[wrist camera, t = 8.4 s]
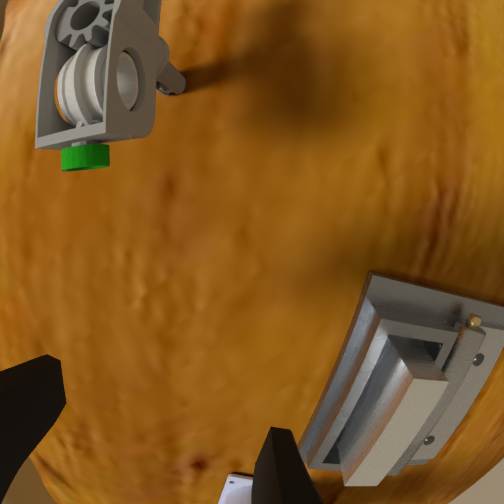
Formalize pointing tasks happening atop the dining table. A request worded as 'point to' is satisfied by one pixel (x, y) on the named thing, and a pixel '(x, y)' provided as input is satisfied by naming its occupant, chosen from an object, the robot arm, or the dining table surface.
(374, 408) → the brushed steel bar
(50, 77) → the mechanical component
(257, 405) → the dining table surface
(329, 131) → the dining table surface
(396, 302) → the fixed leaf
